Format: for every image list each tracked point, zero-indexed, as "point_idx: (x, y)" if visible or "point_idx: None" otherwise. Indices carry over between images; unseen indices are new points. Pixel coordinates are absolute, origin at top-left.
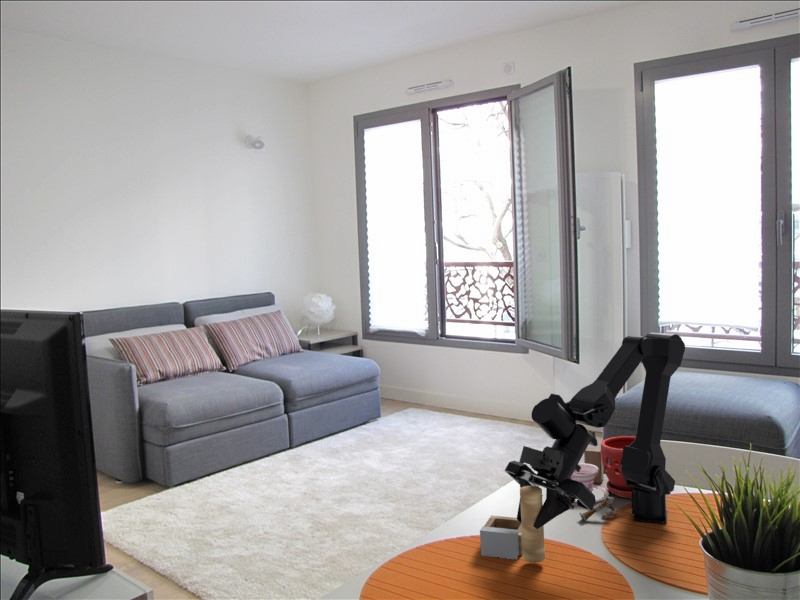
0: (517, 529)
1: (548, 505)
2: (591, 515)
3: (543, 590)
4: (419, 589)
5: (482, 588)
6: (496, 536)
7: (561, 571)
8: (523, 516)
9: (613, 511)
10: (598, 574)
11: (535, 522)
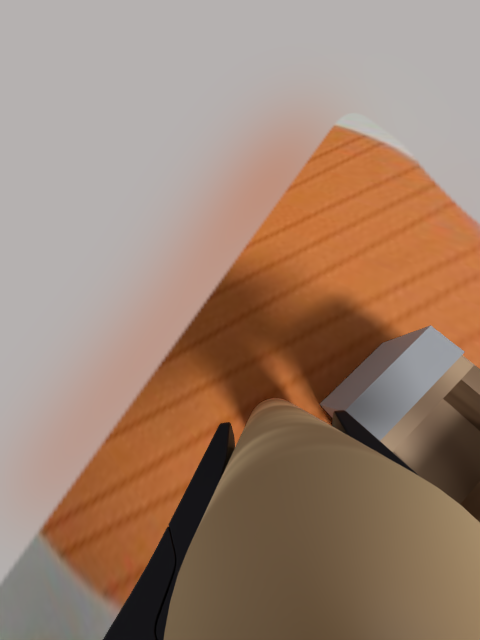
0: (475, 516)
1: (133, 597)
2: None
3: (173, 364)
4: (301, 190)
5: (246, 273)
6: (384, 365)
7: None
8: (286, 410)
9: None
10: (145, 536)
11: (220, 435)
